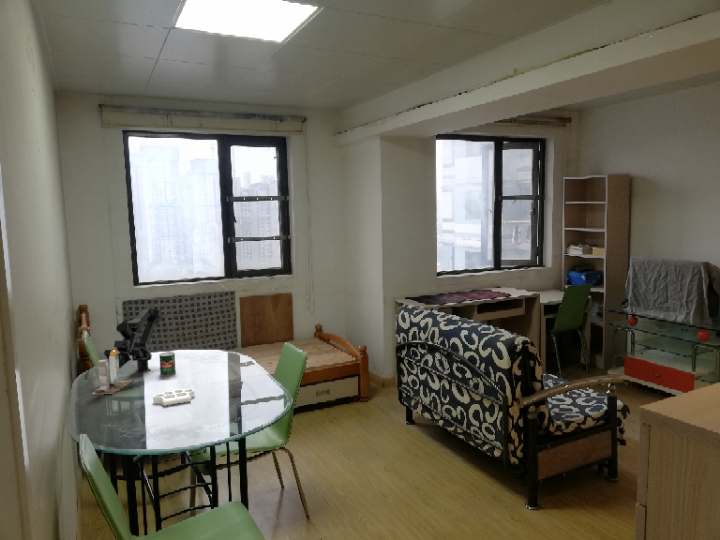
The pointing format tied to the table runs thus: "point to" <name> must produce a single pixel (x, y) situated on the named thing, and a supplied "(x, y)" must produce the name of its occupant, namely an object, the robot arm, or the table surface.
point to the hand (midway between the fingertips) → (118, 368)
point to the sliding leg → (114, 368)
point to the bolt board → (116, 387)
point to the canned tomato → (167, 363)
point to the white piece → (174, 397)
